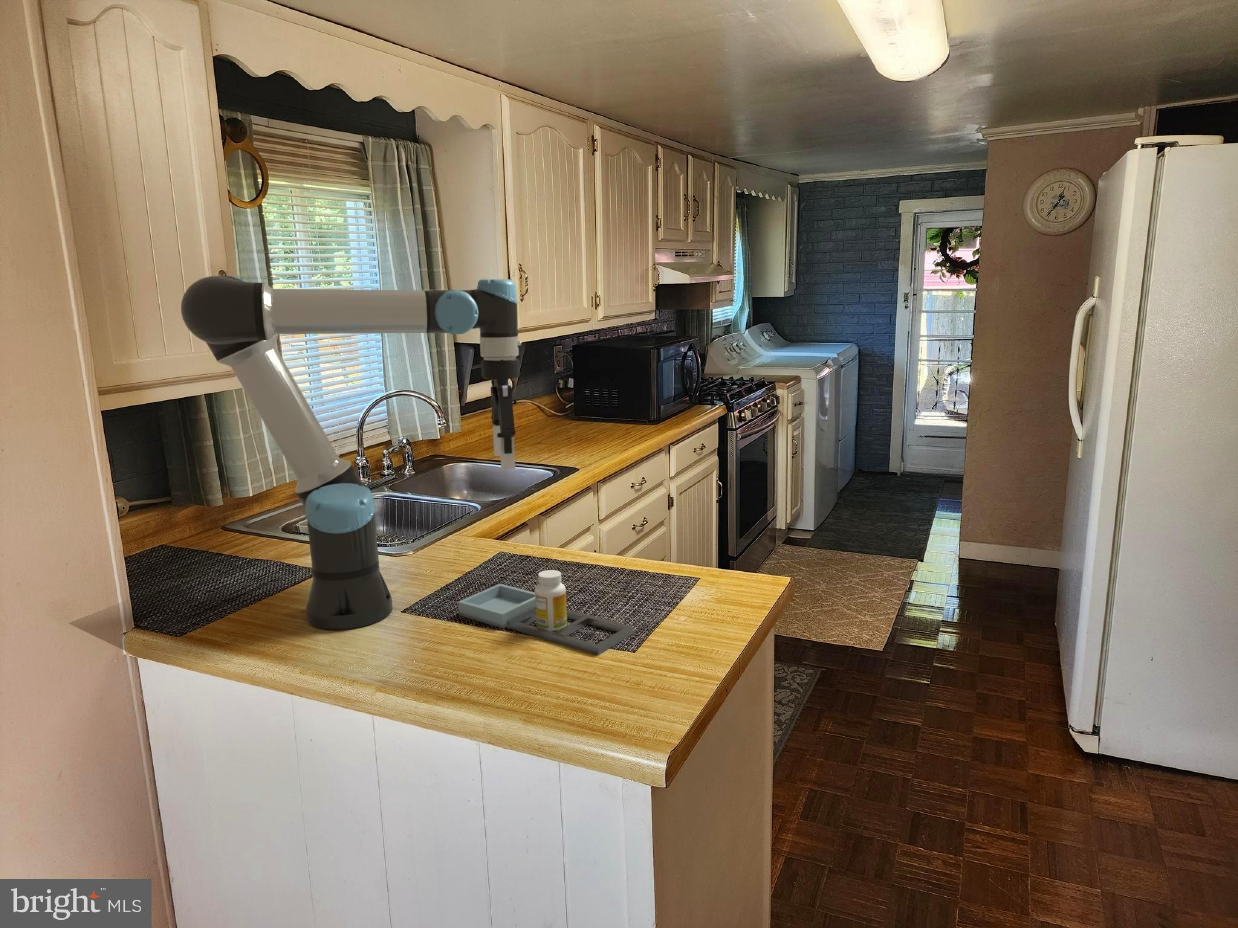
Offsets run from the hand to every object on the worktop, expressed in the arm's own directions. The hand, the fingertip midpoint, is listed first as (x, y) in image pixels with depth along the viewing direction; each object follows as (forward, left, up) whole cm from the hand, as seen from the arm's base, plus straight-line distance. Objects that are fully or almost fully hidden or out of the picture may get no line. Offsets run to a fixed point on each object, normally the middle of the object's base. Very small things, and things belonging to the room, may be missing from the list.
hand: (504, 462), depth 173 cm
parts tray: (-18, -14, -23) cm, 32 cm away
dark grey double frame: (-18, -30, -23) cm, 42 cm away
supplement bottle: (-18, -26, -23) cm, 39 cm away
